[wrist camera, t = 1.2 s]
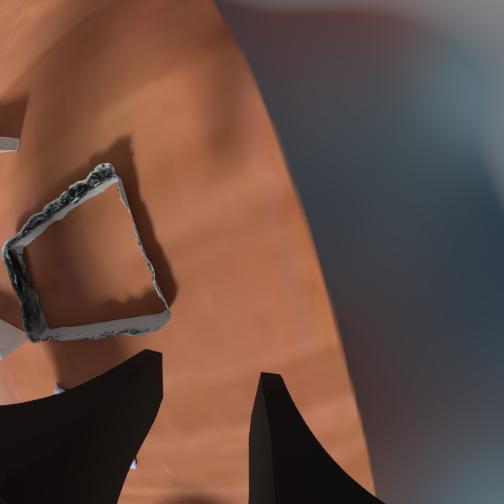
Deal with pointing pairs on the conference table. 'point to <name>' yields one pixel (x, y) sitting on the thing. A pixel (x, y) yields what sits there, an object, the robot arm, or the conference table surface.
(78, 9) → the conference table surface
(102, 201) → the conference table surface
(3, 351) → the box
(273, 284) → the conference table surface
